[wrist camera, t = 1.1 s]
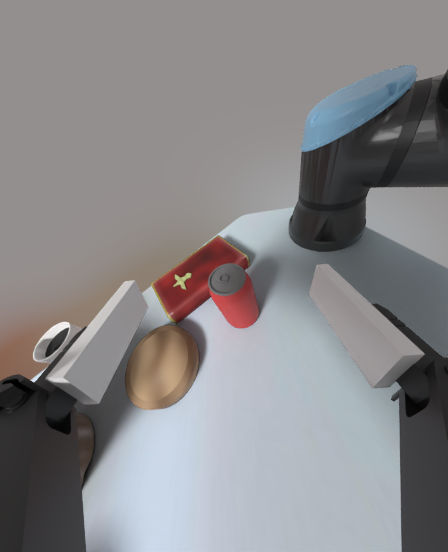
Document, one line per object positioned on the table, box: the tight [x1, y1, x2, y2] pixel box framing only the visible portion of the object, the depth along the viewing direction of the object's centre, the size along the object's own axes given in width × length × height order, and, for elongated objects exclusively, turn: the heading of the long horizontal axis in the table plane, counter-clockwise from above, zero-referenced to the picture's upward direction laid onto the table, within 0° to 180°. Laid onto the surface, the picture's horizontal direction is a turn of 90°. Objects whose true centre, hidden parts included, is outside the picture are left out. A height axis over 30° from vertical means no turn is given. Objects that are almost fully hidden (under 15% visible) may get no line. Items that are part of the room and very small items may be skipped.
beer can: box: [208, 263, 259, 328], centre depth 28 cm, size 7×7×12 cm
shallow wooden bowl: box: [125, 325, 199, 410], centre depth 29 cm, size 13×13×2 cm
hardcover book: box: [151, 235, 250, 324], centre depth 39 cm, size 12×21×4 cm, turn 126°
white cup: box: [33, 322, 82, 363], centre depth 32 cm, size 7×7×10 cm
